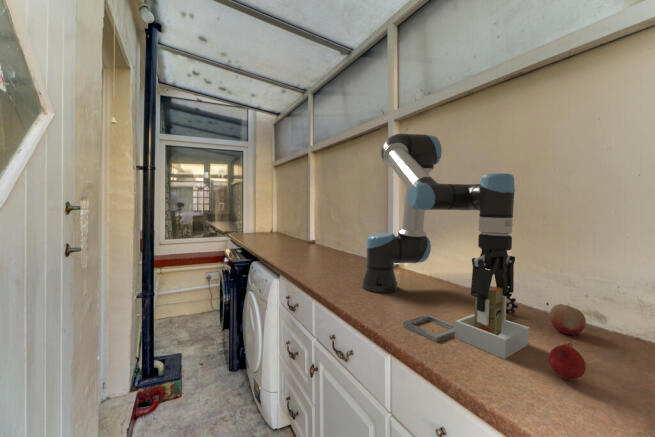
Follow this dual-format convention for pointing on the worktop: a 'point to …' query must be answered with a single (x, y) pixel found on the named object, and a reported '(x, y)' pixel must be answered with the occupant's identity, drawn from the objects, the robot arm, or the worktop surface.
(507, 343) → the tray
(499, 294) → the shoe polish box
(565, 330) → the fruit
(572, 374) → the onion
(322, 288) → the worktop surface
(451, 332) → the collar
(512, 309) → the valve
